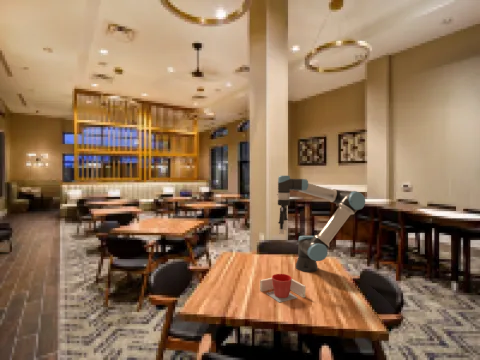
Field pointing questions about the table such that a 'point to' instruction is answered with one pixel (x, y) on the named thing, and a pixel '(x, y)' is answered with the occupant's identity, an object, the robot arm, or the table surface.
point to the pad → (281, 298)
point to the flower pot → (281, 285)
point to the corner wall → (295, 287)
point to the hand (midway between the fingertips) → (283, 232)
